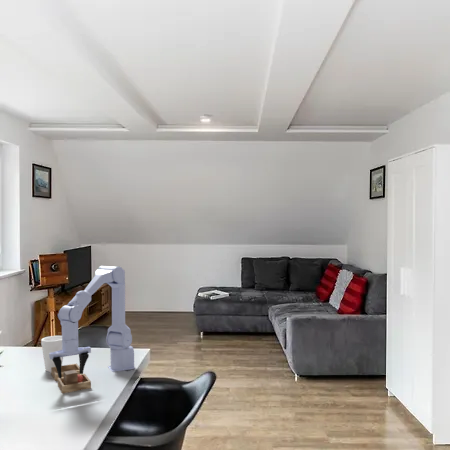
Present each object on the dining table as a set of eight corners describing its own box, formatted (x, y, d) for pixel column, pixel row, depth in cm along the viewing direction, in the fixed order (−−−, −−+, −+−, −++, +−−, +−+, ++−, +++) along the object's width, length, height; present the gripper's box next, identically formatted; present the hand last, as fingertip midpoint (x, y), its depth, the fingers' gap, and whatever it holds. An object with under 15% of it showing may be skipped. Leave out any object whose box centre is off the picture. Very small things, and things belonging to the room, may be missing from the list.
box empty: (76, 370, 187) (76, 363, 187) (82, 377, 179) (81, 370, 179) (51, 374, 183) (51, 367, 183) (55, 382, 174) (55, 374, 174)
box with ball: (84, 381, 174) (84, 373, 174) (90, 389, 166) (90, 381, 166) (57, 386, 169) (57, 378, 169) (62, 394, 161) (62, 386, 161)
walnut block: (74, 385, 168) (74, 369, 168) (77, 388, 165) (77, 372, 165) (63, 387, 166) (63, 371, 166) (66, 391, 163) (66, 374, 163)
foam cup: (57, 373, 184) (56, 341, 184) (37, 372, 186) (36, 340, 186) (69, 366, 193) (69, 336, 193) (50, 365, 195) (50, 335, 195)
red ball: (82, 381, 173) (82, 372, 173) (84, 384, 170) (84, 375, 170) (72, 383, 171) (72, 374, 171) (74, 386, 168) (74, 376, 168)
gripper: (87, 333, 173) (87, 368, 173) (47, 339, 165) (47, 375, 165) (92, 337, 167) (92, 373, 167) (51, 343, 159) (51, 381, 159)
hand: (70, 375), depth 166 cm, fingers open, 7 cm apart
